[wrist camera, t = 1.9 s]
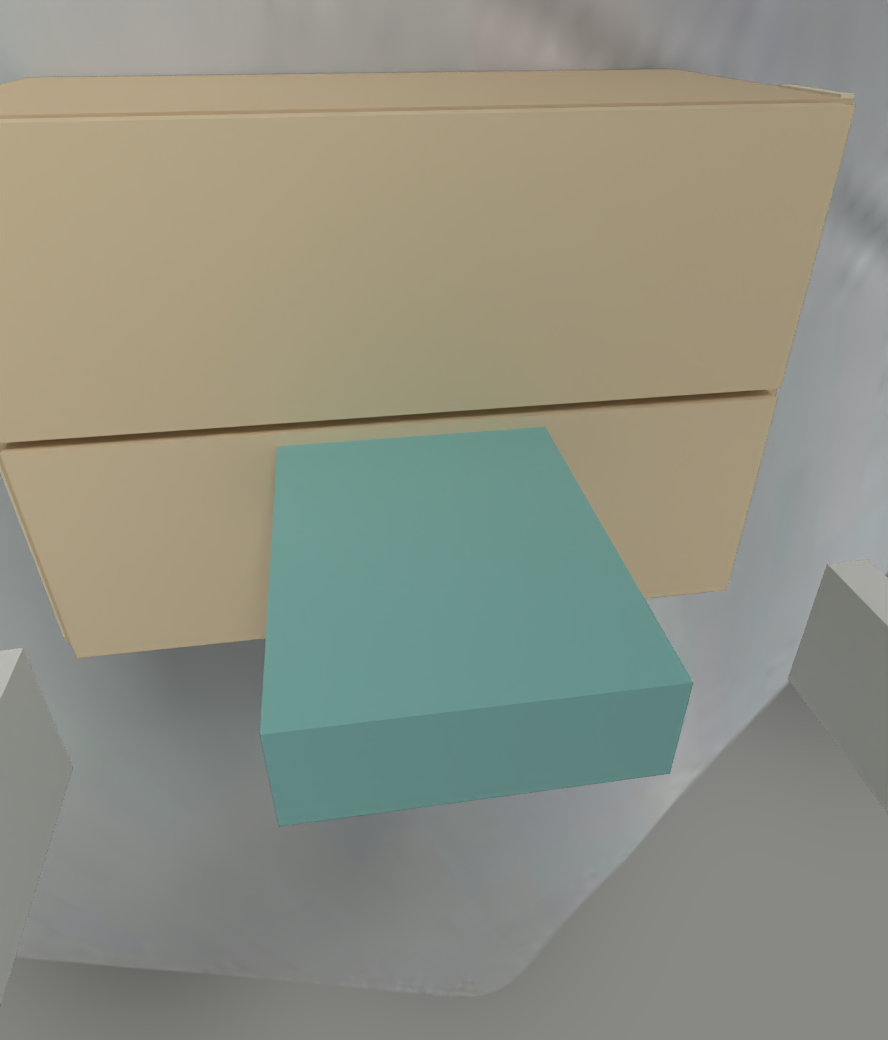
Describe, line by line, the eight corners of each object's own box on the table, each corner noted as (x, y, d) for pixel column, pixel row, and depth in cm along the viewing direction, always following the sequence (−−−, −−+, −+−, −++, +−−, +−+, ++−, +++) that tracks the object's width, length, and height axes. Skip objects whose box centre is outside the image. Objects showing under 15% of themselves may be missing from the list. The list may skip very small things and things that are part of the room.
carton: (19, 75, 20) (-168, 119, 12) (678, 66, 22) (886, 99, 14) (127, 470, 27) (53, 665, 19) (624, 433, 29) (745, 592, 21)
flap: (9, 440, 16) (-221, 775, 9) (764, 387, 18) (1055, 625, 11) (82, 642, 19) (-45, 1004, 12) (717, 576, 21) (918, 853, 14)
